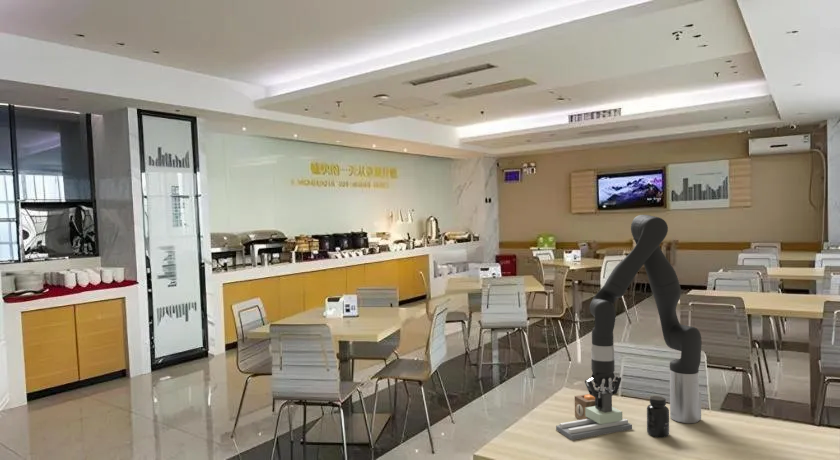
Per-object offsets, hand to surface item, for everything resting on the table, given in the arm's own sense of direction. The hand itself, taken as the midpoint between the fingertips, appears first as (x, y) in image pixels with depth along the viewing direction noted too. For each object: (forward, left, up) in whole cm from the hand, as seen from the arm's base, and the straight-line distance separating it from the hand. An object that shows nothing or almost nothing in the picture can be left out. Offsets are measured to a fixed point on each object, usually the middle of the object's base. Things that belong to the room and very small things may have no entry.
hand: (603, 407), depth 188 cm
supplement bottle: (-13, +11, -7) cm, 19 cm away
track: (+4, 0, -7) cm, 8 cm away
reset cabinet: (-1, -9, -7) cm, 12 cm away
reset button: (-1, -9, -3) cm, 10 cm away
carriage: (0, 0, -4) cm, 4 cm away
